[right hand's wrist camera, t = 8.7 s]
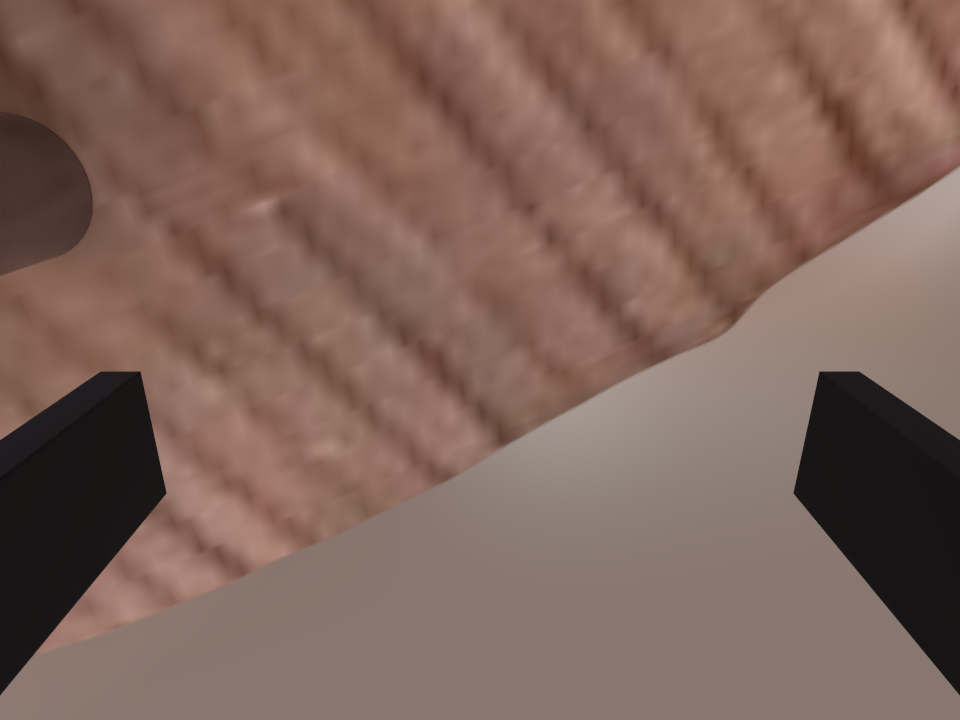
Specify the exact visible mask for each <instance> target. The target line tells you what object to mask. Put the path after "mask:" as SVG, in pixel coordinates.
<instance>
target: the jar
mask: <svg viewBox="0 0 960 720" xmlns="http://www.w3.org/2000/svg"><path fill="white" fill-rule="evenodd" d="M91 213H92V196H91V191H90V186H89V183H88V180H87V177H86V174H85V172H84V170H83V168H82V166H81V164H80V163H79V161H78V159H77V158H76V156H75V155H74V154H73V152H72V151H71V150H70V148H69V147H68V146H67V145H66V144H65V143H64V142H63V141H62V140H61V139H60V138H59V137H58V136H56V135H55V134H54V133H53V132H51V131H50V130H49V129H47V128H46V127H44V126H42V125H40V124H39V123H37V122H35V121H33V120H30V119H28V118H25V117H22V116H18V115H14V114H8V113H0V276H1V275H4V274H7V273H10V272H12V271H15V270H18V269H21V268H24V267H27V266H30V265H33V264H36V263H39V262H42V261H45V260H48V259H51V258H54V257H57V256H59V255H61V254H64V253H66V252H67V251H69V250H71V249H72V248H73V247H74V246H75V245H76V244H78V242H79V241H80V240H81V239H82V237H83V236H84V234H85V232H86V231H87V228H88V225H89V223H90V218H91Z"/></svg>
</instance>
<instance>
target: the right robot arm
mask: <svg viewBox="0 0 960 720" xmlns="http://www.w3.org/2000/svg"><path fill="white" fill-rule="evenodd" d="M165 494H166V489H165V484H164V480H163V475H162V470H161V466H160V461H159V456H158V452H157V447H156V442H155V438H154V433H153V428H152V424H151V419H150V414H149V410H148V405H147V400H146V396H145V391H144V386H143V382H142V377H141V372H100V373H98V374H97V375H95V376H94V377H92V378H91V379H89V380H88V381H86V382H85V383H83V384H82V385H80V386H79V387H78V388H76V389H75V390H73V391H72V392H70V393H69V394H67V395H66V396H64V397H63V398H61V399H60V400H59V401H57V402H56V403H54V404H53V405H51V406H50V407H48V408H47V409H45V410H44V411H42V412H41V413H39V414H38V415H37V416H35V417H34V418H32V419H31V420H29V421H28V422H26V423H25V424H23V425H22V426H20V427H19V428H17V429H16V430H15V431H13V432H12V433H10V434H9V435H7V436H6V437H4V438H3V439H1V440H0V695H1V694H2V692H3V691H4V690H5V689H6V688H7V686H8V685H9V684H10V683H11V681H12V680H13V679H14V678H15V677H16V675H17V674H18V673H19V672H20V671H21V669H22V668H23V667H24V666H25V664H26V663H27V662H28V661H29V660H30V658H31V657H32V656H33V655H34V654H35V652H36V651H37V650H38V649H39V647H40V646H41V645H42V644H43V643H44V641H45V640H46V639H47V638H48V637H49V635H50V634H51V633H52V632H53V630H54V629H55V628H56V627H57V626H58V624H59V623H60V622H61V621H62V620H63V618H64V617H65V616H66V615H67V613H68V612H69V611H70V610H71V609H72V607H73V606H74V605H75V604H76V603H77V601H78V600H79V599H80V598H81V596H82V595H83V594H84V593H85V592H86V590H87V589H88V588H89V587H90V586H91V584H92V583H93V582H94V581H95V579H96V578H97V577H98V576H99V575H100V573H101V572H102V571H103V570H104V569H105V567H106V566H107V565H108V564H109V562H110V561H111V560H112V559H113V558H114V556H115V555H116V554H117V553H118V552H119V550H120V549H121V548H122V547H123V545H124V544H125V543H126V542H127V541H128V539H129V538H130V537H131V536H132V535H133V533H134V532H135V531H136V530H137V528H138V527H139V526H140V525H141V524H142V522H143V521H144V520H145V519H146V518H147V516H148V515H149V514H150V513H151V511H152V510H153V509H154V508H155V507H156V505H157V504H158V503H159V502H160V501H161V499H162V498H163V497H164V496H165ZM794 494H795V496H796V497H797V498H798V499H799V501H800V502H801V503H802V504H803V505H804V507H805V508H806V509H807V510H808V511H809V513H810V514H811V515H812V516H813V518H814V519H815V520H816V521H817V522H818V524H819V525H820V526H821V527H822V528H823V530H824V531H825V532H826V533H827V534H828V536H829V537H830V538H831V539H832V541H833V542H834V543H835V544H836V545H837V547H838V548H839V549H840V550H841V552H842V553H843V554H844V555H845V556H846V558H847V559H848V560H849V561H850V562H851V564H852V565H853V566H854V567H855V569H856V570H857V571H858V572H859V573H860V575H861V576H862V577H863V578H864V579H865V581H866V582H867V583H868V584H869V585H870V587H871V588H872V589H873V590H874V592H875V593H876V594H877V595H878V596H879V598H880V599H881V600H882V601H883V603H884V604H885V605H886V606H887V607H888V609H889V610H890V611H891V612H892V613H893V615H894V616H895V617H896V618H897V620H898V621H899V622H900V623H901V624H902V626H903V627H904V628H905V629H906V630H907V632H908V633H909V634H910V635H911V636H912V638H913V639H914V640H915V641H916V643H917V644H918V645H919V646H920V647H921V649H922V650H923V651H924V652H925V654H926V655H927V656H928V657H929V658H930V660H931V661H932V662H933V663H934V664H935V666H936V667H937V668H938V669H939V671H940V672H941V673H942V674H943V675H944V677H945V678H946V679H947V680H948V681H949V683H950V684H951V685H952V686H953V688H954V689H955V690H956V691H957V692H958V694H959V695H960V440H959V439H957V438H956V437H954V436H953V435H951V434H950V433H948V432H947V431H945V430H944V429H942V428H941V427H940V426H938V425H937V424H935V423H934V422H932V421H931V420H929V419H928V418H926V417H925V416H923V415H922V414H920V413H919V412H918V411H916V410H915V409H913V408H912V407H910V406H909V405H907V404H906V403H904V402H903V401H901V400H900V399H899V398H897V397H896V396H894V395H893V394H891V393H890V392H888V391H887V390H885V389H884V388H882V387H881V386H879V385H878V384H877V383H875V382H874V381H872V380H871V379H869V378H868V377H866V376H865V375H863V374H862V373H860V372H819V377H818V382H817V386H816V391H815V396H814V400H813V405H812V410H811V414H810V419H809V424H808V428H807V433H806V438H805V442H804V447H803V452H802V456H801V461H800V466H799V470H798V475H797V480H796V484H795V489H794Z"/></svg>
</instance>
